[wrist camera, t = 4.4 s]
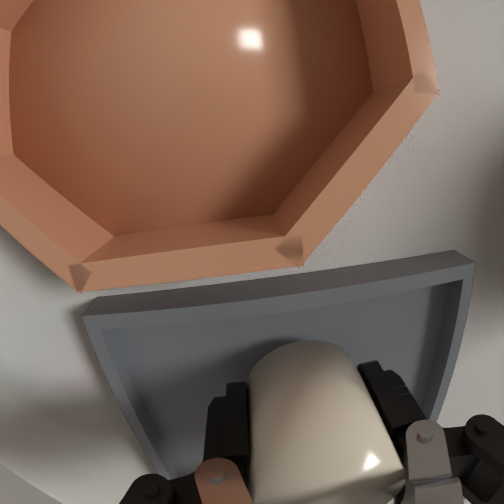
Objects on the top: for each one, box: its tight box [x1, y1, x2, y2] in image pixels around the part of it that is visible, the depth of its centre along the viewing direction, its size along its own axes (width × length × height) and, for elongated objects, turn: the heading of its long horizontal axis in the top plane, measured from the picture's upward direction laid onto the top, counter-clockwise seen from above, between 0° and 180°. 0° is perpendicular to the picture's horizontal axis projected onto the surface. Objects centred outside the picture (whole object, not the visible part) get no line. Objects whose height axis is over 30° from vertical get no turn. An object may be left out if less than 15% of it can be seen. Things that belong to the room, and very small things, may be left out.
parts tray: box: [82, 250, 476, 480], centre depth 13 cm, size 15×15×2 cm
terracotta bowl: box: [0, 0, 440, 293], centre depth 7 cm, size 15×15×4 cm
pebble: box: [247, 340, 406, 504], centre depth 9 cm, size 4×4×6 cm
